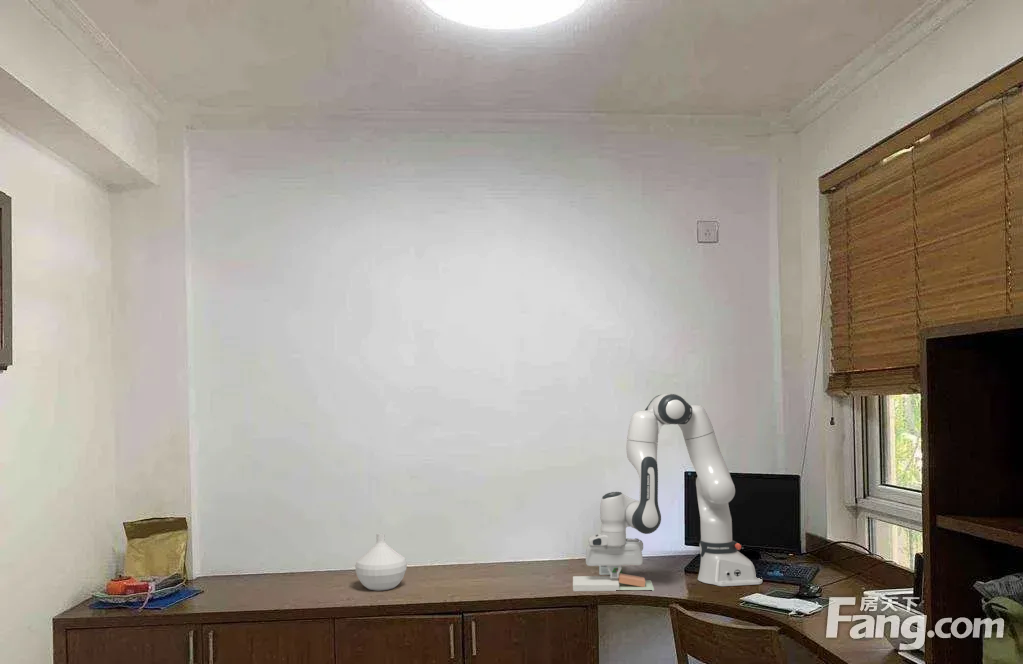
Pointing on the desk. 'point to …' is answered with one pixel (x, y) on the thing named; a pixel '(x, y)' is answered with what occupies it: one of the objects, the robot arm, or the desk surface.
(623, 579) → the card
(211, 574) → the desk surface
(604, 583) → the deck
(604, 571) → the ink box
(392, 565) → the vase
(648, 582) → the mat
